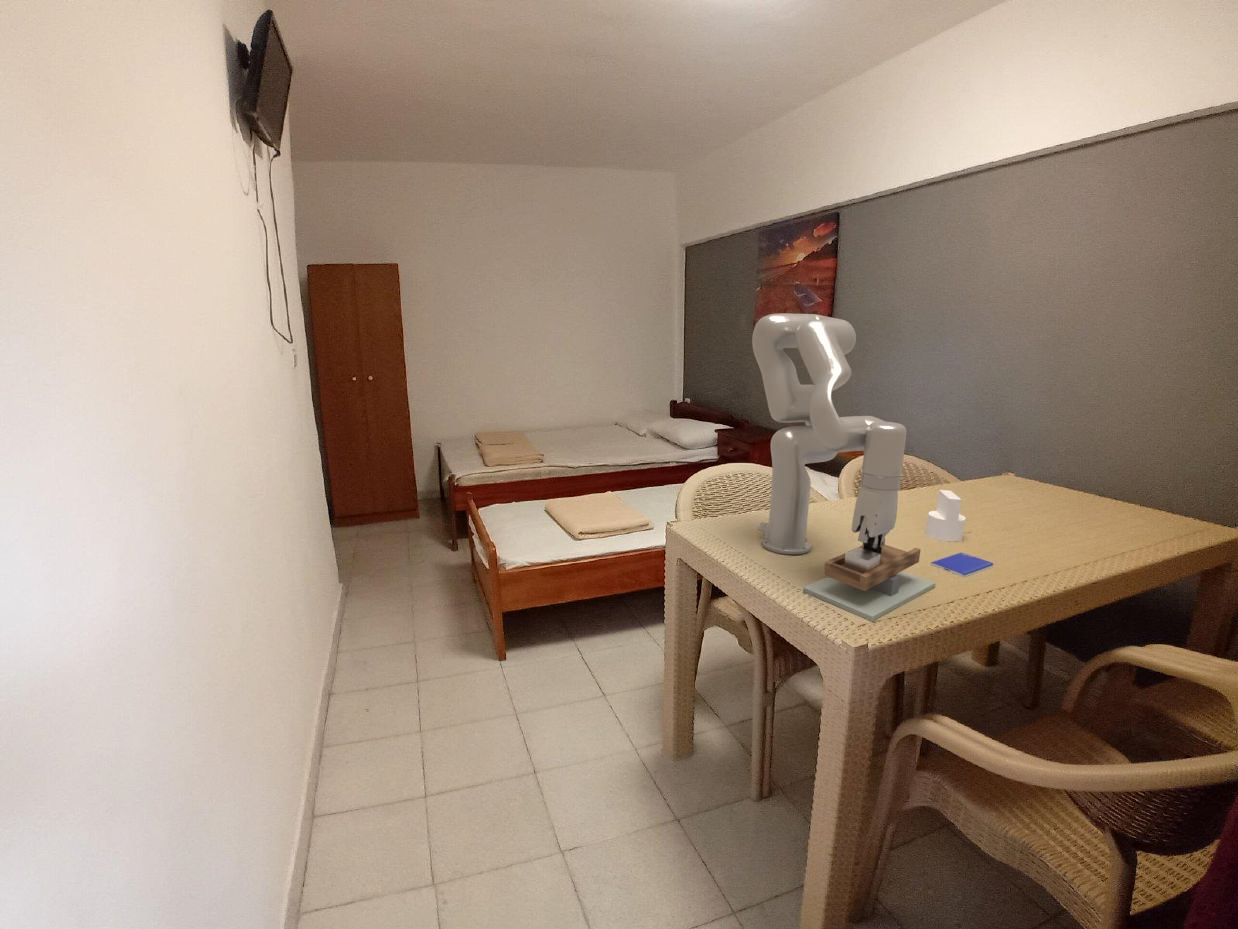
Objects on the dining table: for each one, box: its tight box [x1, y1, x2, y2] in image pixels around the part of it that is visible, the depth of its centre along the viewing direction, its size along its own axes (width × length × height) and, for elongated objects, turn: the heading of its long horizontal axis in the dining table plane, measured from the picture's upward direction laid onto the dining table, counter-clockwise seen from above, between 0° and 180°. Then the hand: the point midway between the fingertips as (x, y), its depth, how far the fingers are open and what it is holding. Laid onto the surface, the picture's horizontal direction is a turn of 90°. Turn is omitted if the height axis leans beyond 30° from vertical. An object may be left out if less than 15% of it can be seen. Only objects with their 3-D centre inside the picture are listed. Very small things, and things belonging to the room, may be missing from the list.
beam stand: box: [802, 571, 936, 622], centre depth 129 cm, size 26×16×5 cm, turn 127°
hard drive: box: [930, 552, 994, 578], centre depth 143 cm, size 2×8×12 cm
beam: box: [823, 537, 921, 591], centre depth 128 cm, size 22×9×3 cm, turn 127°
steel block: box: [844, 546, 881, 574], centre depth 124 cm, size 5×5×4 cm
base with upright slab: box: [925, 489, 966, 543], centre depth 162 cm, size 9×9×12 cm
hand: (870, 563), depth 127 cm, fingers closed
